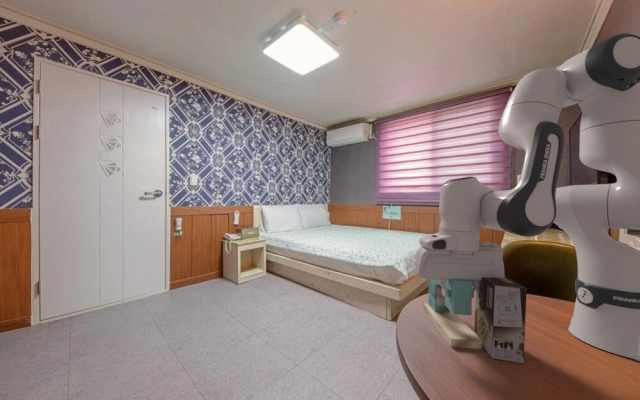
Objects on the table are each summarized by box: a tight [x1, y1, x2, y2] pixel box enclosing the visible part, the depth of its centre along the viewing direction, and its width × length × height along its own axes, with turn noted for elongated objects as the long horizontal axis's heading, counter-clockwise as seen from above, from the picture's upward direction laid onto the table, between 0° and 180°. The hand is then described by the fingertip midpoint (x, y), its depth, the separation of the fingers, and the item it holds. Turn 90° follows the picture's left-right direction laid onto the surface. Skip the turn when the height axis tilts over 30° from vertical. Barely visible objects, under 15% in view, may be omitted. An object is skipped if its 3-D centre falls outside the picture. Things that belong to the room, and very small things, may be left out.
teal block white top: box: [445, 279, 473, 316], centre depth 59 cm, size 4×6×8 cm
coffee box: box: [474, 276, 528, 364], centre depth 55 cm, size 9×6×16 cm
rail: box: [422, 278, 483, 350], centre depth 64 cm, size 7×19×10 cm, turn 175°
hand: (457, 296), depth 59 cm, fingers closed on teal block white top, 4 cm apart
